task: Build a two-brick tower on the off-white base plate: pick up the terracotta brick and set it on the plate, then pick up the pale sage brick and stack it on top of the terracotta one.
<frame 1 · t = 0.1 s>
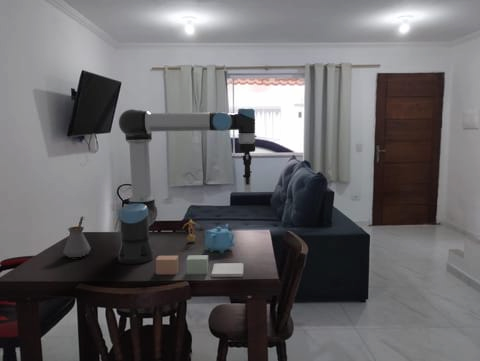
hand: (247, 189, 189), 28 cm above the table, tool pointing down, fingers open, 13 cm apart
base plate: (228, 271, 163), on the table
figurine: (191, 243, 204), on the table
terracotta brick: (167, 272, 163), on the table
teapot: (220, 250, 191), on the table
sage brick: (197, 271, 163), on the table
coffee pot: (80, 252, 191), on the table
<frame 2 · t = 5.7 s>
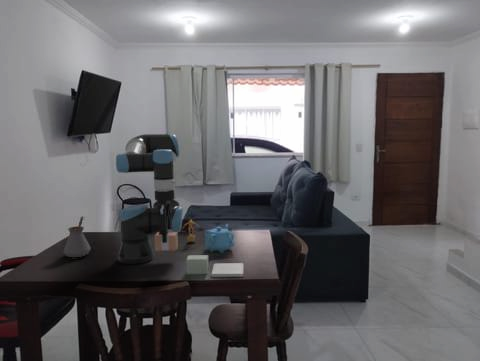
hand: (166, 247, 162), 10 cm above the table, tool pointing down, fingers closed on terracotta brick, 5 cm apart
terracotta brick: (166, 248, 162), point 9 cm above the table, touching gripper
everything else where it was.
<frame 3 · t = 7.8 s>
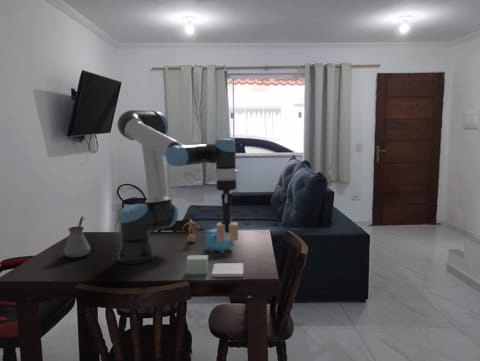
hand: (227, 238, 161), 14 cm above the table, tool pointing down, fingers closed on terracotta brick, 5 cm apart
terracotta brick: (227, 238, 161), point 13 cm above the table, touching gripper
everything else where it was.
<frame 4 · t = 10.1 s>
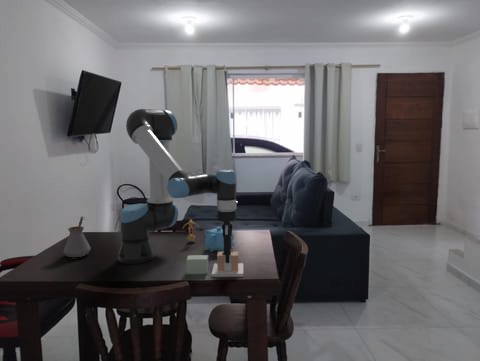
hand: (228, 267, 162), 1 cm above the table, tool pointing down, fingers closed on base plate, terracotta brick, 5 cm apart
terracotta brick: (228, 268, 162), point 1 cm above the table, touching gripper
everything else where it was.
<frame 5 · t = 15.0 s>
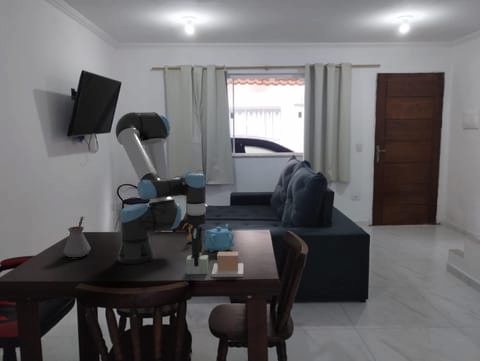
hand: (197, 270, 163), 0 cm above the table, tool pointing down, fingers closed on sage brick, 5 cm apart
terracotta brick: (228, 268, 162), point 1 cm above the table, touching base plate
sage brick: (197, 271, 163), on the table, touching gripper
everything else where it was.
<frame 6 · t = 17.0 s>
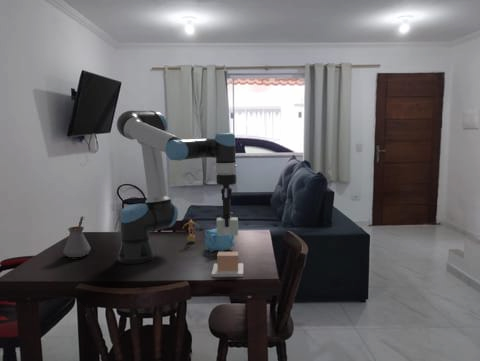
hand: (227, 232, 160), 16 cm above the table, tool pointing down, fingers closed on sage brick, 5 cm apart
sage brick: (227, 233, 161), point 15 cm above the table, touching gripper
everything else where it was.
when the fingers open (8 cm above the table, at t = 18.6 s): sage brick stays where it is, resting on terracotta brick.
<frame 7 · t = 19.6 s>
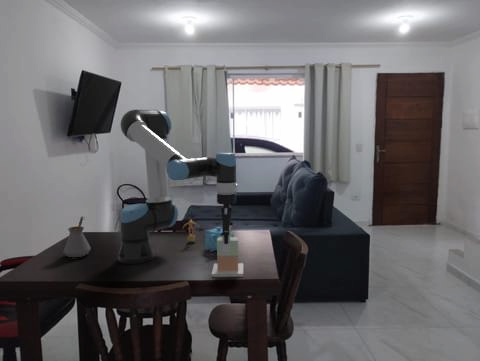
hand: (227, 246, 161), 10 cm above the table, tool pointing down, fingers open, 13 cm apart
terracotta brick: (228, 268, 162), point 1 cm above the table, touching base plate, sage brick
sage brick: (228, 253, 162), point 7 cm above the table, touching terracotta brick
everything else where it was.
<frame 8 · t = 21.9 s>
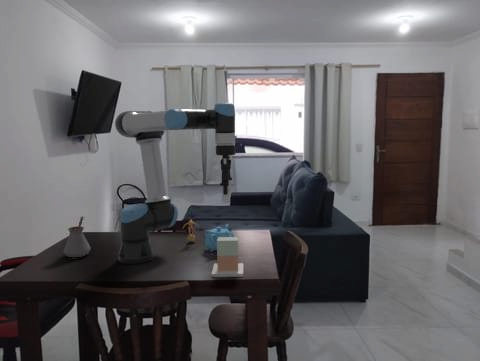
hand: (226, 199, 159), 29 cm above the table, tool pointing down, fingers open, 13 cm apart
nothing on the table moved.
at the end: terracotta brick 0.0 cm off-centre on the base plate, point 1.2 cm above the base plate's base; sage brick 0.1 cm off-centre on the base plate, point 7.2 cm above the base plate's base; sage brick tilted 0° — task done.
